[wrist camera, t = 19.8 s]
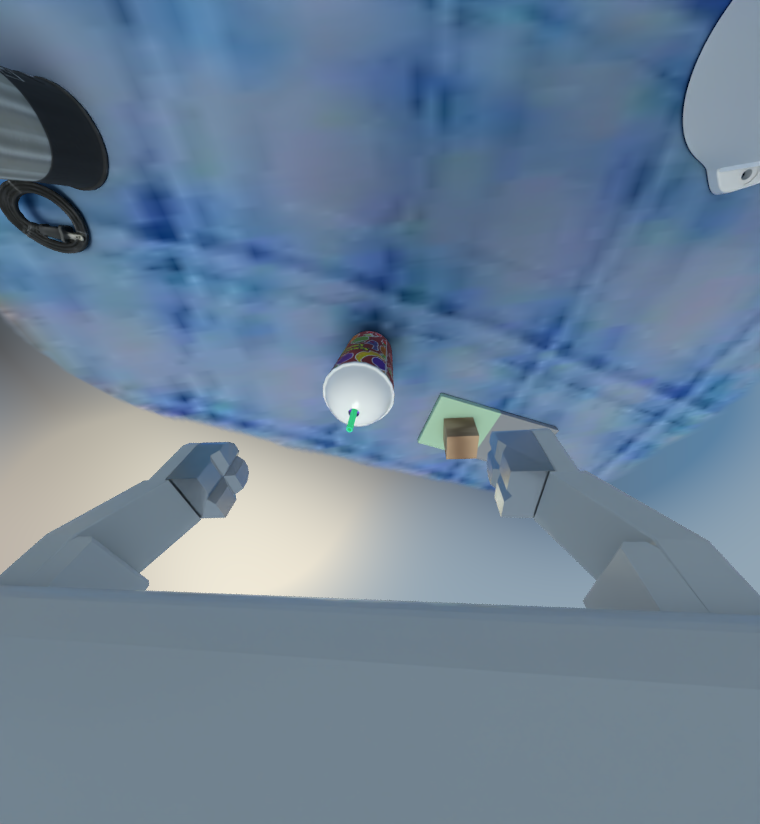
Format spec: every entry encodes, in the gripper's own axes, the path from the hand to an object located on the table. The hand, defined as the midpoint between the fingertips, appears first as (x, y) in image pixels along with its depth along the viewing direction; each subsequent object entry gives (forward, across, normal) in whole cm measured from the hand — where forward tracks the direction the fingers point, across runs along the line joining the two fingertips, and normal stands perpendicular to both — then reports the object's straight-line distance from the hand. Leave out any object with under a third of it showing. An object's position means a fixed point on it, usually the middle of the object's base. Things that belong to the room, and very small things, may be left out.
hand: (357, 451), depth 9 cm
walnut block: (+33, -9, +26) cm, 43 cm away
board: (+34, -14, +29) cm, 47 cm away
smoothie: (+34, +5, +10) cm, 36 cm away
